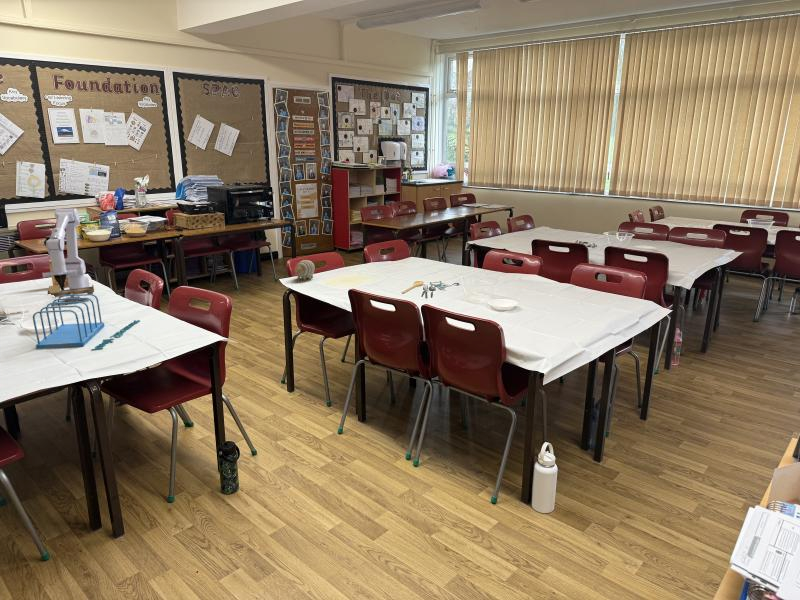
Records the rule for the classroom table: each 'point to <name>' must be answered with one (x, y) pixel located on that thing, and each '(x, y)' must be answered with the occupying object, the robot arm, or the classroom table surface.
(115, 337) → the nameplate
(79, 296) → the pivot stand
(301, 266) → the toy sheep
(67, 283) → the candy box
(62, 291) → the beam
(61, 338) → the file sorter
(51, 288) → the brass weight
